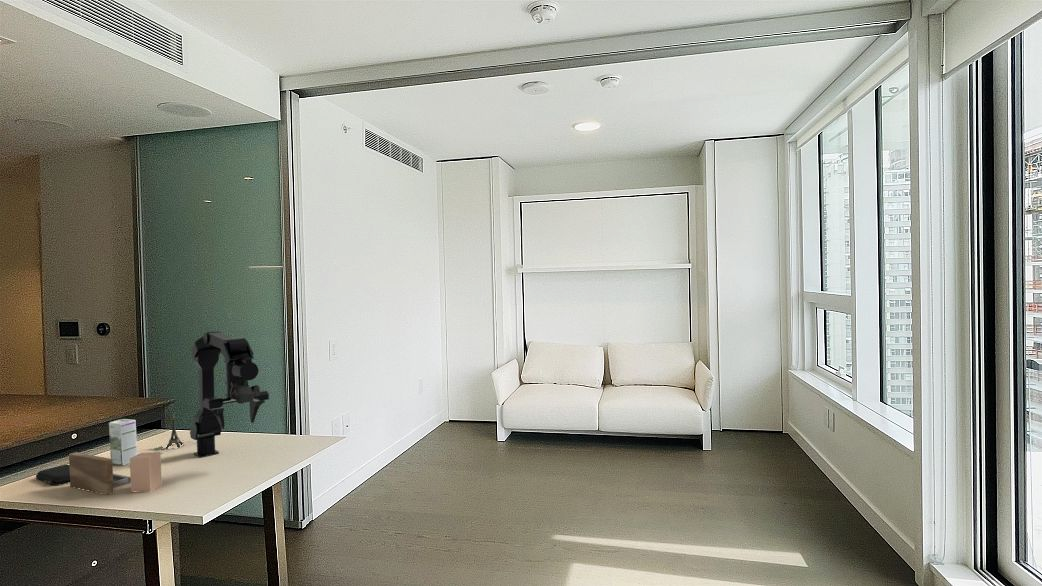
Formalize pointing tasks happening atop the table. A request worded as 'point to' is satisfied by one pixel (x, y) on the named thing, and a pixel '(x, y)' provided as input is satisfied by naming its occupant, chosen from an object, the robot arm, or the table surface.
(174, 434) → the eiffel tower figurine
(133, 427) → the syrup box
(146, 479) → the pinkish tan block
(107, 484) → the cleat board
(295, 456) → the table surface
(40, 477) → the carrying case or bag
